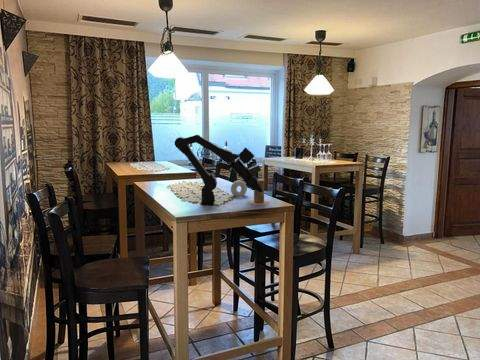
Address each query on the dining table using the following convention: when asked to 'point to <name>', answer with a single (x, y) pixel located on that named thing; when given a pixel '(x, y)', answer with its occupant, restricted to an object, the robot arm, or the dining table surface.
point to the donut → (234, 188)
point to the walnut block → (259, 195)
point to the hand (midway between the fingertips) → (261, 190)
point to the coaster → (258, 203)
